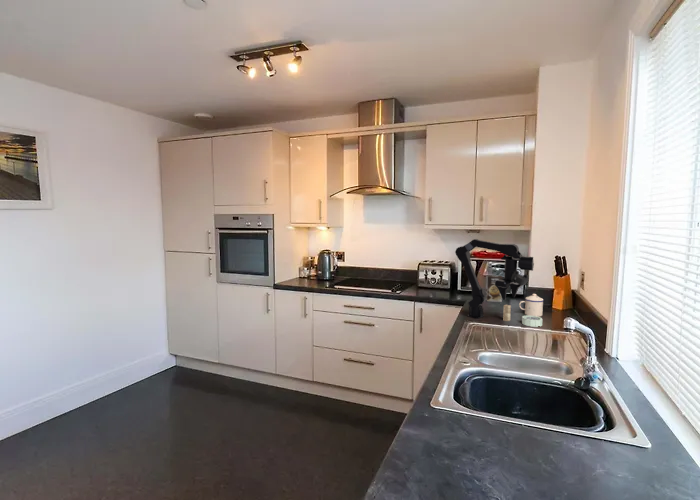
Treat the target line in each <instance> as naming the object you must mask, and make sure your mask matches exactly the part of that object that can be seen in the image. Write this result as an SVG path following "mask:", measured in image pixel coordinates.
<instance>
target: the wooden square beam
mask: <svg viewBox="0 0 700 500" xmlns="http://www.w3.org/2000/svg"><path fill="white" fill-rule="evenodd" d="M511 308H512V305H510V304H504V305H503V315H502V316H503V317H502V318H503V319H502V320H503V321H504V322H510V321H511V311H512V310H511Z"/></svg>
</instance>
